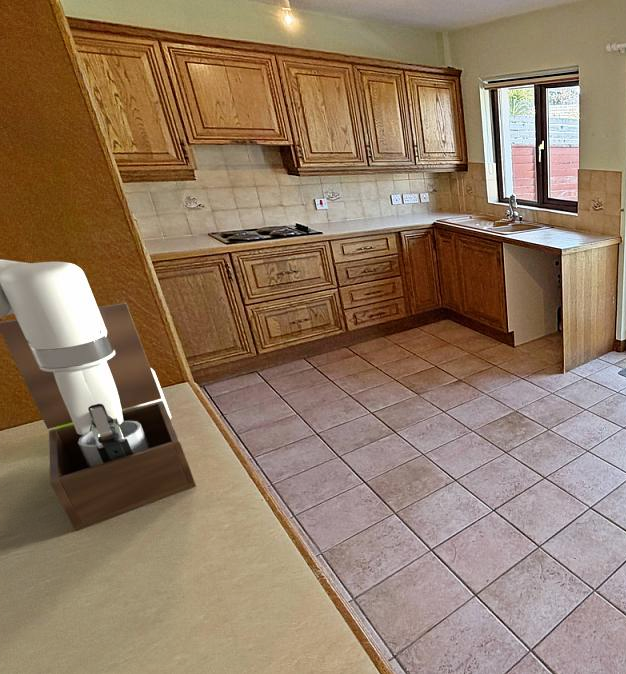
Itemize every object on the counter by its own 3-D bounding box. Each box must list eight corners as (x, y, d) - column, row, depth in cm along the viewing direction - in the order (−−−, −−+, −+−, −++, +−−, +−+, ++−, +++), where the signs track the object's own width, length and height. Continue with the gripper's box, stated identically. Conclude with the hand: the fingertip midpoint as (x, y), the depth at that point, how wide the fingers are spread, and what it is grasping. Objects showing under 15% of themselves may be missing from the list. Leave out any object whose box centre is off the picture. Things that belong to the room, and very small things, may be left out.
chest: (196, 486, 77) (179, 441, 73) (75, 531, 67) (50, 482, 64) (177, 441, 87) (162, 400, 83) (71, 475, 78) (48, 430, 74)
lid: (126, 303, 77) (123, 297, 80) (-4, 323, 67) (-1, 315, 71) (162, 398, 83) (158, 389, 86) (47, 429, 74) (48, 417, 77)
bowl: (134, 467, 72) (124, 443, 70) (77, 474, 70) (66, 449, 68) (158, 441, 78) (149, 418, 76) (107, 446, 76) (97, 423, 74)
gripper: (35, 338, 69) (81, 439, 76) (34, 381, 59) (88, 493, 66) (106, 326, 74) (143, 421, 82) (118, 364, 64) (159, 469, 71)
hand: (118, 452), depth 74 cm, fingers closed on bowl, 7 cm apart
